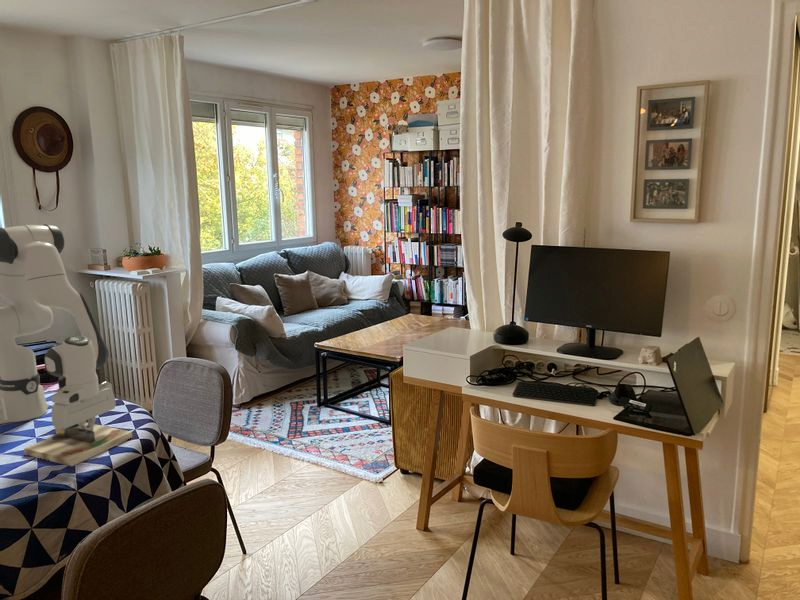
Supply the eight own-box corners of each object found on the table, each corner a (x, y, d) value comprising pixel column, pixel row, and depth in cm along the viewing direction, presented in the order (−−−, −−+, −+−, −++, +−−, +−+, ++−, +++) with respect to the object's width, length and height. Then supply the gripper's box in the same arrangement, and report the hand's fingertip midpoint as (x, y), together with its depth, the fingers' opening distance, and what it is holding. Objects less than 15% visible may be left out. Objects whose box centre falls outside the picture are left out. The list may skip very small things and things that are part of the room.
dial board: (24, 454, 187) (23, 447, 187) (87, 428, 207) (86, 421, 206) (72, 466, 179) (71, 459, 179) (132, 437, 199) (131, 431, 198)
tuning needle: (53, 436, 194) (52, 427, 194) (64, 431, 198) (63, 422, 197) (87, 444, 188) (86, 435, 187) (98, 439, 192) (97, 430, 191)
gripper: (103, 378, 201) (107, 419, 204) (45, 398, 183) (51, 443, 185) (118, 380, 199) (122, 422, 201) (61, 401, 180) (66, 446, 183)
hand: (87, 432), depth 193 cm, fingers closed
